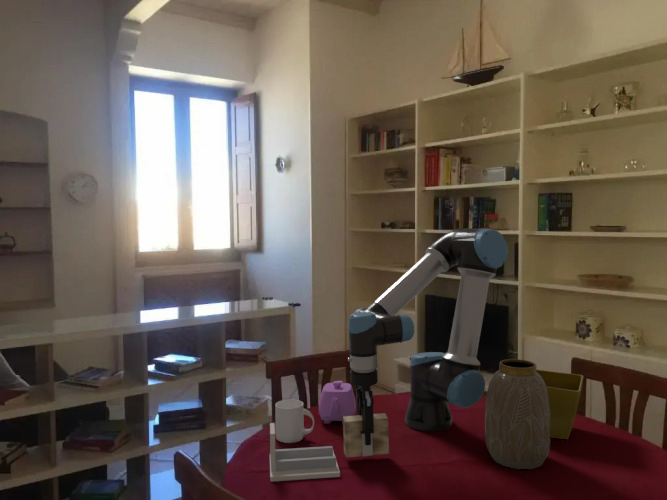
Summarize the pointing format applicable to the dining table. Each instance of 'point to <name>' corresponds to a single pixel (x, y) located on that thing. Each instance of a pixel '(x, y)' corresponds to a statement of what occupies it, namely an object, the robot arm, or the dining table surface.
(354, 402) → the teapot
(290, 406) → the mug
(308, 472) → the white stand
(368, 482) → the dining table surface
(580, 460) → the dining table surface
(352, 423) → the door panel
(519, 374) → the vase
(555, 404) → the flower pot
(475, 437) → the dining table surface
